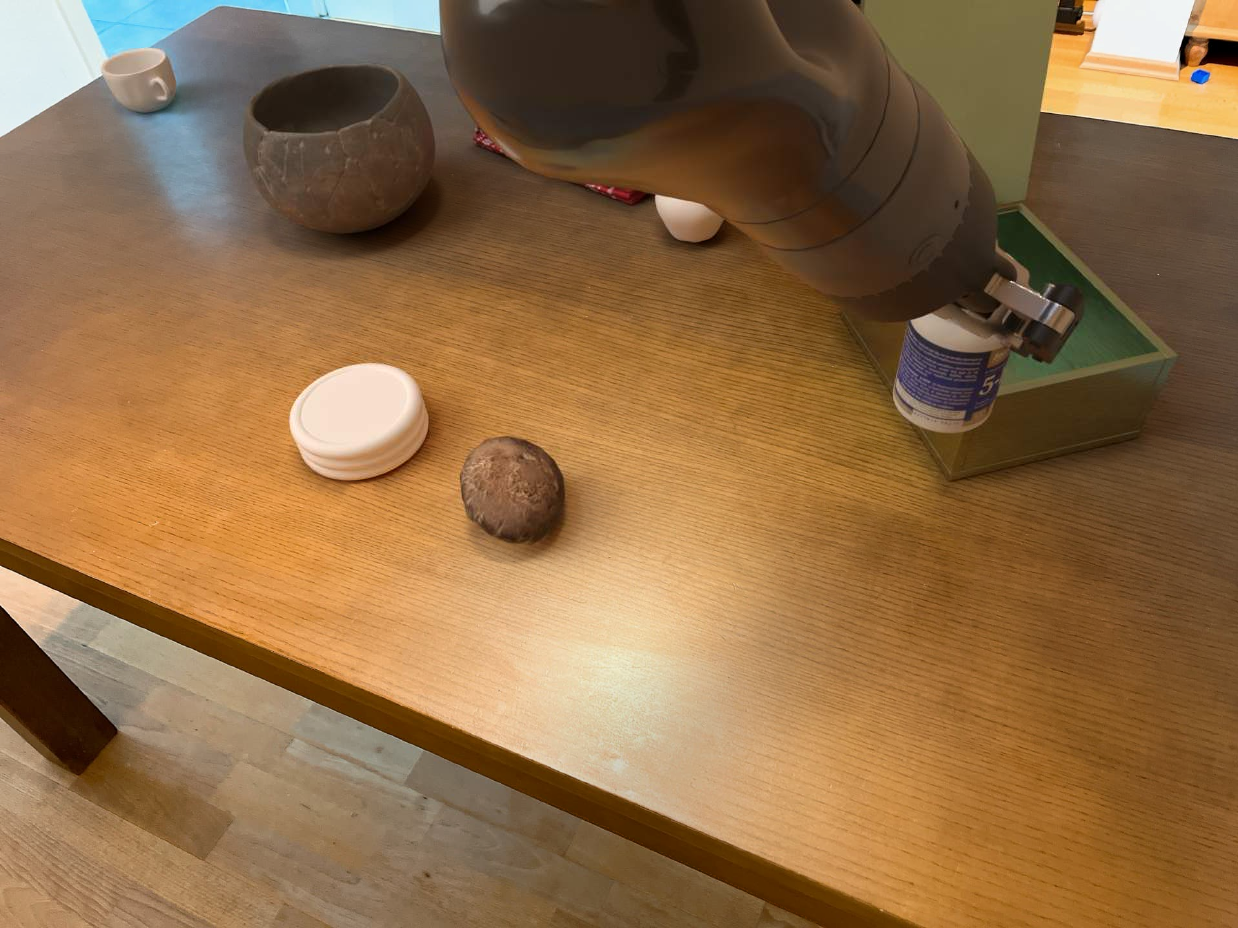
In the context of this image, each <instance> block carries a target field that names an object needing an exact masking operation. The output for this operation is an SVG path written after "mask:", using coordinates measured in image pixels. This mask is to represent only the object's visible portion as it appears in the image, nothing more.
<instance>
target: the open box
mask: <svg viewBox="0 0 1238 928" xmlns="http://www.w3.org/2000/svg"><path fill="white" fill-rule="evenodd" d="M997 212H998V222H997V237H996V238H997V241H998V247H999V248H1000V249H1001V250H1003V251H1004V252H1005V253H1007V254H1008V255H1010V256H1011V257H1012V258H1013V259H1014V260H1015V261H1017V262H1018V263H1019V264H1020V265H1022V266H1023V267H1024V268H1025V269H1027V270H1028V271H1029V281H1028V285H1029V287H1030V288H1032V289H1033V290H1034V291H1036V292H1039V293H1041V292H1042V290H1043V289H1044V287H1045V286H1046V284H1048V283H1050V284H1052V285H1054V286H1056V285H1057V284H1058V283H1061V284H1064V285H1068V284H1071V285H1073V286H1075V287H1077V288H1078V289H1080V291H1079V292H1080V293H1082V294H1083V295H1084V296H1086V304H1085V310H1084V317H1083V318H1082V320H1081V321H1080V323H1079V324H1078V325H1077V327H1076V328H1075V330H1074V331H1073V333H1072V334H1071V336H1070V337H1069V339H1068V340H1067V341H1066V343H1065V344H1064V346H1063V347H1062V349H1061V350H1060V352H1059V353H1058V355H1057V356H1056V357H1055V359H1054V360H1053V362H1052V363H1051V364H1048V363H1046V362H1044V361H1043V362H1042V363H1039V362H1037V361H1036V360H1034V359H1032V358H1031V357H1032V356H1033V355H1031V354H1030V355H1029V356H1028V357H1027V358H1024V357H1022V356H1020V355H1019V354H1017V353H1015V352H1013V351H1012V350H1011V353H1010V356H1009V359H1008V362H1007V365H1006V368H1005V371H1004V374H1003V377H1002V380H1001V383H1000V386H999V389H998V393H997V396H996V399H995V402H994V405H993V408H992V411H991V413H990V415H989V416H988V418H987V419H986V420H985V421H984V422H983V423H982V424H981V425H979V426H978V427H976V428H974V429H971V430H968V431H964V432H958V433H941V432H935V431H931V430H927V429H924V428H922V427H920V426H918V425H915V424H914V423H912V422H911V421H909V420H908V422H909V423H910V425H911V427H912V428H913V429H914V431H915V432H916V434H917V435H918V437H919V439H920V441H921V442H922V443H923V445H924V446H925V448H926V449H927V451H928V452H929V453H930V456H931V457H932V459H933V460H934V461H935V463H936V465H937V467H938V468H939V469H940V470H941V472H942V473H943V475H944V477H945V478H946V479H947V481H948V482H953V481H956V480H957V481H958V480H961V479H965V478H969V477H973V476H978V475H982V474H987V473H990V472H991V473H992V472H995V471H999V470H1004V469H1008V468H1013V467H1017V466H1022V465H1026V464H1030V463H1034V462H1038V461H1042V460H1043V461H1044V460H1047V459H1051V458H1056V457H1060V456H1065V455H1069V454H1073V453H1077V452H1078V453H1079V452H1082V451H1085V450H1091V449H1094V448H1099V447H1104V446H1108V445H1113V444H1117V443H1121V442H1126V441H1129V440H1134V439H1137V438H1139V435H1140V433H1141V430H1142V429H1143V426H1144V425H1145V423H1146V420H1147V418H1148V417H1149V415H1150V413H1151V411H1152V409H1153V406H1154V405H1155V403H1156V400H1157V399H1158V396H1159V394H1160V393H1161V390H1162V389H1163V386H1164V384H1165V382H1166V380H1167V379H1168V377H1169V375H1170V372H1171V370H1172V368H1173V366H1174V364H1175V362H1176V360H1177V358H1178V356H1179V355H1178V354H1177V353H1176V352H1175V351H1174V350H1173V349H1172V348H1171V347H1170V346H1169V345H1168V344H1167V343H1166V342H1165V341H1164V340H1163V339H1162V338H1161V337H1160V336H1159V335H1157V333H1155V331H1154V330H1152V329H1151V328H1150V327H1149V325H1147V324H1146V323H1145V322H1144V321H1143V320H1142V319H1141V318H1140V317H1139V316H1138V315H1137V314H1136V313H1135V311H1133V310H1132V309H1131V308H1130V307H1129V306H1128V305H1127V304H1126V303H1125V302H1124V301H1123V300H1122V299H1121V298H1120V297H1119V296H1118V295H1116V293H1115V292H1114V291H1113V290H1111V289H1110V287H1109V286H1108V285H1106V284H1105V282H1103V280H1101V278H1099V277H1098V275H1096V274H1095V273H1094V272H1093V271H1092V269H1090V267H1088V266H1087V265H1086V264H1085V263H1084V262H1083V261H1082V260H1081V259H1080V258H1079V257H1078V256H1077V255H1076V254H1075V253H1074V252H1073V251H1072V250H1071V249H1070V248H1069V247H1068V246H1067V245H1065V244H1064V243H1063V242H1062V241H1061V239H1059V238H1058V237H1057V235H1055V233H1053V232H1052V231H1051V229H1049V228H1048V227H1047V226H1046V225H1045V224H1044V223H1043V222H1042V221H1041V220H1040V219H1039V218H1038V217H1037V216H1036V215H1035V214H1034V213H1033V212H1031V210H1030V209H1029V208H1028V207H1027V206H1026V205H1024V203H1022V202H1020V203H1016V204H1012V205H1007V206H1003V207H1001V206H1000V207H997ZM839 317H840V318H841V320H842V321H843V323H844V324H845V326H846V327H847V329H848V330H849V332H850V333H851V335H852V337H853V338H854V340H855V341H856V343H857V344H858V346H859V347H860V349H861V350H862V352H863V353H864V355H865V356H866V358H867V359H868V361H869V363H870V364H871V366H872V367H873V369H874V370H875V371H876V373H877V374H878V376H879V378H880V379H881V382H883V383H884V385H885V387H886V388H887V390H888V391H889V393H890V394H891V396H892V397H893V389H894V384H895V380H896V375H897V371H898V367H899V363H900V358H901V353H902V349H903V344H904V339H905V334H906V330H907V325H908V321H904V322H895V323H883V322H875V321H869V320H866V319H862V318H860V317H857V316H855V315H853V314H851V313H849V312H847V311H845V310H844V309H842V308H841V307H840V312H839Z"/></svg>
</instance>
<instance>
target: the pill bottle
mask: <svg viewBox="0 0 1238 928" xmlns="http://www.w3.org/2000/svg"><path fill="white" fill-rule="evenodd" d="M1006 254H1007V253H1006ZM1009 256H1010V255H1009ZM1010 257H1011V256H1010ZM1011 258H1012V257H1011ZM960 309H961V308H960ZM962 310H963V311H965V312H966V313H967V312H968V311H970V310H965V309H962ZM1010 312H1011V310H1008V311H1007V313H1006V314H1005V316H1004V318H1003V320H1002V324H1003V323H1004V321H1005V320H1006V318H1007V317H1008V315H1009V314H1010ZM1000 341H1001V340H999V339H997V338H996V337H995V336H993V335H992V336H991V337H989V338H987V339H984V338H981V337H979V336H977V335H975V334H973V333H971V332H968V331H966V330H964V329H962V328H961V327H960V326H958V325H957V324H955V323H954V322H952V321H951V320H949V319H942V318H940V317H938V316H936V315H934V314H932V313H931V314H928V315H926V316H923V317H920V318H917V319H913V320H909V321H908V325H907V330H906V334H905V339H904V344H903V349H902V353H901V358H900V363H899V367H898V371H897V375H896V380H895V384H894V389H893V396H892V398H893V402H894V405H895V407H896V409H897V410H898V411H899V412H900V414H901V415H902V416H903V417H904V418H905V419H906V420H908V422H909V421H911V422H912V423H914V424H915V425H918V426H920V427H922V428H924V429H927V430H931V431H935V432H941V433H958V432H964V431H968V430H971V429H974V428H976V427H978V426H979V425H981V424H982V423H983V422H984V421H985V420H986V419H987V418H988V416H989V415H990V413H991V411H992V408H993V405H994V402H995V399H996V396H997V393H998V389H999V386H1000V383H1001V380H1002V377H1003V374H1004V371H1005V368H1006V365H1007V362H1008V359H1009V356H1010V353H1011V349H1009V348H1008V347H1006V346H1004V345H1002V344H1001V343H1000Z"/></svg>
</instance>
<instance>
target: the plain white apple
mask: <svg viewBox="0 0 1238 928" xmlns="http://www.w3.org/2000/svg"><path fill="white" fill-rule="evenodd" d="M654 201H655V207H656V211H657V213H658V215H659V217H660V218H661V221H662V222H663V223H664V225H665V227H666V228H667V230H668V232H669V233H670V234H671V236H672V237H673V238H674V239H676V240H678V241H682V242H688V243H700V242H703V241H707V240H710V239H711V238H713V237H714V236H715V235H716V234H717V232H718V231H719V230H720V228H721V226H722V224H723V223H724V221H725V219H723V218H722V217H720V216H719V215H717V214H716V213H714V212H713V211H711V210H710V209H708V208H707V207H706V206H704V205H703V204H699V203H695V202H690V201H685V200H679V199H675V198H670V197H664V196H660V195H655V197H654Z"/></svg>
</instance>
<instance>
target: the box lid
mask: <svg viewBox="0 0 1238 928" xmlns="http://www.w3.org/2000/svg"><path fill="white" fill-rule="evenodd" d="M1059 4H1060V0H860V7H859V9H860V10H861V12H862V13H863V14H864V15H865V16H866V17H867V19H868V20H869V22H870V23H871V25H872V26H873V27H874V29H875V30H876V31H877V33H878V34H879V36H880V37H881V38H882V40H883V41H884V43H885V44H886V46H887V47H888V48H889V50H890V51H891V53H892V54H893V55H894V57H895V58H896V60H897V61H898V63H899V64H900V65H901V67H902V68H903V69H904V71H906V72H907V73H908V74H909V75H911V76H912V77H913V78H914V79H915V80H916V81H918V82H919V83H920V84H921V85H922V86H923V87H924V88H925V89H926V90H927V91H928V92H929V93H930V94H931V96H932V97H933V98H934V99H935V101H936V102H937V103H938V105H939V106H940V107H941V109H942V110H943V112H944V113H945V115H946V116H947V118H948V119H949V120H950V122H951V123H952V125H953V126H954V128H955V129H956V131H957V132H958V134H959V135H960V136H961V138H962V139H963V141H964V142H965V144H966V145H967V147H968V148H969V150H970V151H971V152H972V154H973V155H974V157H975V158H976V160H977V161H978V163H979V164H980V166H981V167H982V168H983V170H984V171H985V173H986V175H987V176H988V178H989V180H990V182H991V184H992V187H993V190H994V193H995V197H996V202H997V206H1000V205H1006V204H1011V203H1017V202H1020V201H1021V202H1022V201H1026V199H1027V194H1028V188H1029V181H1030V176H1031V169H1032V164H1033V159H1034V152H1035V146H1036V141H1037V134H1038V127H1039V122H1040V117H1041V110H1042V105H1043V98H1044V93H1045V86H1046V81H1047V76H1048V75H1047V74H1048V68H1049V64H1050V63H1049V62H1050V57H1051V51H1052V46H1053V39H1054V33H1055V27H1056V22H1057V15H1058V9H1059Z"/></svg>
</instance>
